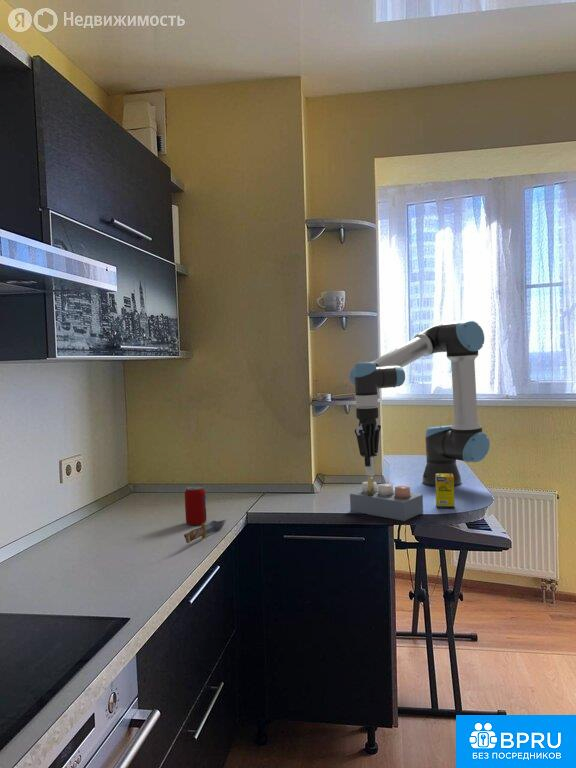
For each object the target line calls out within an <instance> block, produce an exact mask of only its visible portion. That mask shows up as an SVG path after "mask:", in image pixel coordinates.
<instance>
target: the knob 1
mask: <svg viewBox="0 0 576 768" xmlns="http://www.w3.org/2000/svg"><path fill="white" fill-rule="evenodd" d="M377 488H378V485H377V482H376V481H374V493H376V492H377ZM361 490H362V492H363V493H368V481H363V482H361Z"/></svg>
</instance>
